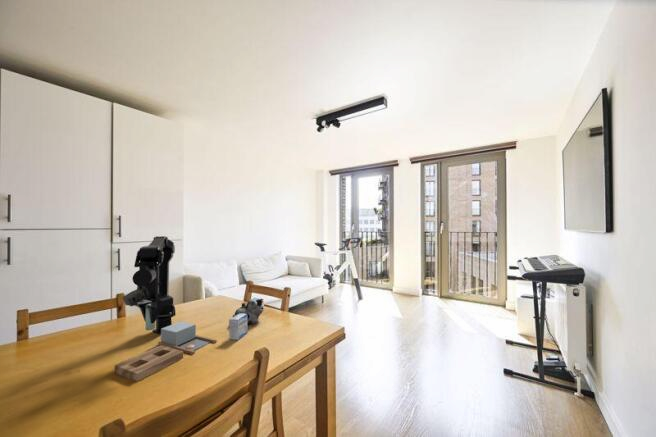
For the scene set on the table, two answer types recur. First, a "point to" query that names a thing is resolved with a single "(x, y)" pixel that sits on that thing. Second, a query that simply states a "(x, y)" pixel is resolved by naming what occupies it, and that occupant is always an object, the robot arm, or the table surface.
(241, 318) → the medicine box
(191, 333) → the cover
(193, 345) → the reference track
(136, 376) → the board
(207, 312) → the table surface
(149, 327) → the teal peg
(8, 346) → the table surface
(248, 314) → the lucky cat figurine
